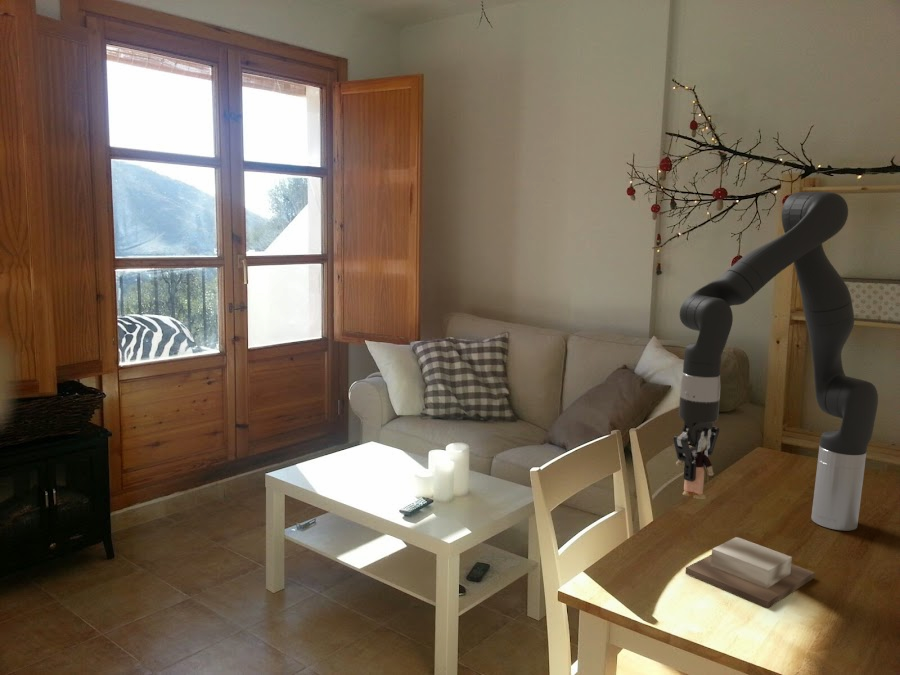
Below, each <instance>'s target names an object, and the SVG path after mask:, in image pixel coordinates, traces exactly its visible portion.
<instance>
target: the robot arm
mask: <svg viewBox="0 0 900 675" xmlns="http://www.w3.org/2000/svg"><path fill="white" fill-rule="evenodd" d="M848 217H849V206H848V203H847V201H846V199H845V198H844V197H843V196H841V195H840V194H838V193H835V192H829V191H801V192H799V191H798V192H794V193H792V194H790V195H789V196H788V197H787V198H786V199H785V201H784V203H783V205H782V208H781V223H782V224H781V225H782V229H783V231H784V233H783V234H781V235H780V236H779V237H776V238H775V239H773V240H771V241H769V242H767V243H765V244H763V245H761V246H759V247H757V248H755V249H753V250H752V251H750V252H748V253H746V254H745V255H743V256H742V257H741V258H740V259H739V260H737V261H736V262H735V263H734V264H733V265H731V266H730V268H728V269H727V270H726V271H725V272H724V273H723V274H721V276H720V277H718V278H716V279H714V280H712V281H710V282H708V283H707V284H705V285H704V286H702V287H700V288H698V289H697V290H695V291H694V292H692V293H691V294H690V295H688V296H687V298H686V299H685V300H683V303H682V304H681V307H680V308H679V319H680V322H681V323H682V325H683V326H685V327H686V328H688V329H690V330H693V331H697V332H699V333H698V336H697V340H696V342H694V343H690V344H688V345H687V346H686V347H685V349H684V354H683V366H682V367H683V368H682V375H681V376H682V377H681V382H680V392H679V406H678V407H679V408H678V416H679V418H680V419H682V420H683V426H682V428H681V432H682V433H681V434H679V435H674V436H673V438H672V439H673V444H674V447H675V448H674V449H675V452H676V456H677V461H678V460H681V461H684V462H683V463H684V465H683V466H684V468H683V479H684V481H685V480H688V481H691V482H693V481H695V477H696V462H697V455H698V453H700V451H701V444H702V440H703V438H704V437H705V438H706V441H707V443H706V446H705V449H704V450H703V451H702V452H701V453H703V454H705V455H706V456H707V457H708V458H709V456H710V457H711V456H712V455H713V452H714V450H715V447H716V443H717V440H718V438H719V437H718V436H719V433H720V428H719V427H717V426H713V423H715V422H717V421H718V419H719V415H720V414H719V412H720V411H719V410H720V400H721V399H720V397H721V370H722V369H721V368H722V355H723V352H724V349H725V347H726V345H727V341H728V338H729V335H730V333H731V329H732V326H733V321H734V320H733V319H734V318H733V317H734V316H733V311H732V308H731V307H732V306H740V305H743V304H745V303H747V302H748V301H749V300H750V299H752V298H753V297H754V295H756V294H757V293H759V291H760V290H761V289H762V288H763V287H765V286H766V285H767V284H768V283H769V282H770V281H771V280H772V279H774V278H775V277H776V276H778V274H779V273H780V274H781V272H782V271H783V270H785V269H786V268H788V267H789V266H791V265H792V264H794V269H795V272H796V276H797V281H798V286H799V291H800V296H801V301H802V302H801V303H802V308H803V315H804V320H805V324H806V327H807V332H808V337H809V338H808V339H809V342H810V343H809V344H810V349H811V357H812V363H813V364H812V365H813V377H814V378H813V379H814V390H815V398H816V403H817V405H818V407H819V408H820V410H821V411H822V412H823V413H826V414H828V415H829V416H832V417H836V418H838V419H841V424H840V427H839V429H838V430H828V431H827V430H826V431H823V433H822V434H821V435H820V439H819V448H818V455H817V464H816V474H815V480H814V481H815V483H814V492H813V501H812V508H811V516H810V518H811V519H810V520H812V522H814V523H815V524H816V525H819V526H822V527H824V528H827V529H830V530H831V529H832V530H836V531H846V532H847V531H854V530H856V529H857V528H858V523H859V517H860V516H859V515H860V508H861V501H862V491H863V484H864V483H863V482H864V474H865V466H866V458H867V451H868V446H869V444H870V442H871V439H872V437H873V432H874V426H875V421H876V418H877V417H876V415H877V411H878V404H879V394H878V390H877V388H876V386H875V385H874V384H873V383H872V382H869V381H868V380H863V379H860V378H855V377H851V376H847V375H846V374H845V372H844V371H845V370H844V366H843V360H842V352H843V349H844V347H845V344H846V343H847V340H848V339H849V337H850V335H851V333H852V331H853V329H854V328H853V327H854V325H855V313H854V306H853V300H852V297H851V292H850V289H849V287H848V286H847V284H846V282H845V281H844V279H843V278H842V276H841V275H840V273H839V272H838V271H837V270H836V268H835V267H834V265H832V263H831V262H830V260H829V258H828V256H827V254H826V252H825V250H824V247H823V244H824V243H825V242H827V241H828V240H830V239H831V238H833V237H835V236H836V235H837V234H838V233H839V232H840V231H841V230H842V229H843V228H844V227H845V225H846V222H847V220H848ZM692 446H694V447H695V448H693V447H692ZM691 452H692V457H691ZM705 468H706V466H705V464H704V470H705Z"/></svg>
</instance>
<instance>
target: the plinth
mask: <svg viewBox="0 0 900 675" xmlns="http://www.w3.org/2000/svg"><path fill="white" fill-rule="evenodd" d="M792 560H793V557H792V556H791V555H788V554H785V553H783V552H779V551H777V550H773V549H771V548H769V547H766V546H763V545H761V544H757V543H754V542H752V541H750V540H746V539H744V538H741V537H738V536H735V537H733V538H731V539H730V540H727V541H725V542H723V543H722V544H719V545H717V546H715V547H713V548H712V549H711V554H710V555H708V556H706V557H704V558H702V559H700V560H698V561H696V562H693V563H691V564H690V565H687V566H686V567H685V572H684V573H685V575H688V576H691V577H694V578H695V579H698V580H700V581H703V582H705V583H707V584H710V585H712V586H714V587H716V588H719V589H721V590H723V591H726V592H729V593H731V594H733V595H735V596H738V597H740V598H742V599H744V600H747V601H750V602H751V603H754V604H756V605H758V606H762V607H763V608H766V609H769V608H771V607H772V606H774V605H775V604H776V603H779V602H780V601H781V600H783V599H785V598H786V597H788V596H789V595H791V594H792V593H793V592H795V591H797V590H798V589H799V588H801V587H802V586H804V585H806V584H808V583H809V582H810V581H812V580H813V579H815V572H814V571H812V570H809V569H807V568H804V567H801V566H798V565H796V564H794V563H792Z"/></svg>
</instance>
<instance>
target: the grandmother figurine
mask: <svg viewBox="0 0 900 675" xmlns="http://www.w3.org/2000/svg"><path fill="white" fill-rule="evenodd" d="M706 443H707V441H706V438H705V437H704V438H703V440H702V444H701V451H700V453H698V455H697V462H696V477H695V481H693V482H691V481H688V480H685V479H684V482H683V484H684V485H683V490H684V491H683V492H682V495H683V496H686V497H693V499H696V500H704V499H706V495H705V494H704V492H703V491H704V481H705V479H704V478H705V469H704V464H705V468H706V470H707V475H708V476H709V477H711V476H713V475H714V474H715V473H714V470H713V464H712V462H711V460H710V458H709V456H708V457H707V456H706V455H705V454H703V453H701V452H702V451H703V450H704V449H705V446H706ZM691 447H693V448H695V447H694V446H691ZM691 457H692V452H691ZM682 463H684V461H681V460H678V459H677V461H676V462H675V465H676V466H677V467H680V466H682Z"/></svg>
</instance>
